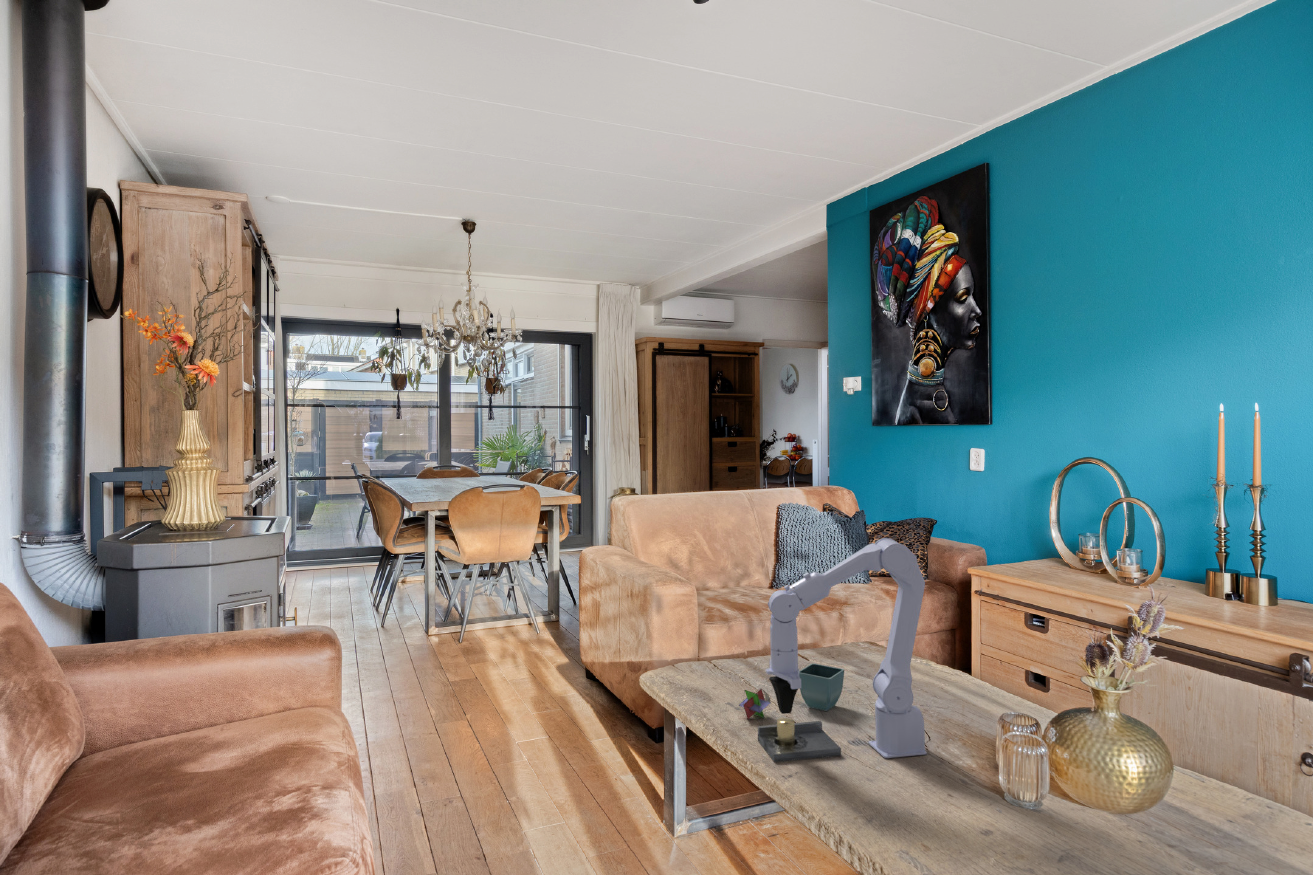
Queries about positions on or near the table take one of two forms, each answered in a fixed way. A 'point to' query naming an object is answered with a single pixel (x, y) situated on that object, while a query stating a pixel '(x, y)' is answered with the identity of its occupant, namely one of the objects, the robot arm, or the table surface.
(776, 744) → the jig
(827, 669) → the flower pot
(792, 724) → the brass cylinder plug
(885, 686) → the robot arm
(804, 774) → the table surface
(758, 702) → the geometric puzzle
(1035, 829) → the table surface
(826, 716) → the table surface
